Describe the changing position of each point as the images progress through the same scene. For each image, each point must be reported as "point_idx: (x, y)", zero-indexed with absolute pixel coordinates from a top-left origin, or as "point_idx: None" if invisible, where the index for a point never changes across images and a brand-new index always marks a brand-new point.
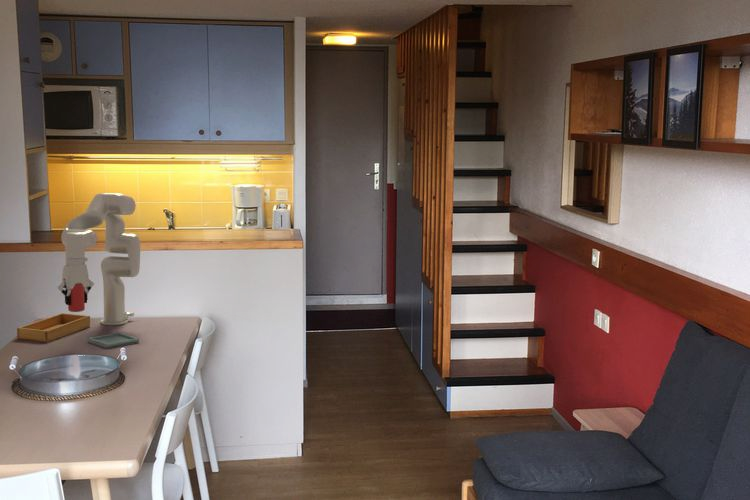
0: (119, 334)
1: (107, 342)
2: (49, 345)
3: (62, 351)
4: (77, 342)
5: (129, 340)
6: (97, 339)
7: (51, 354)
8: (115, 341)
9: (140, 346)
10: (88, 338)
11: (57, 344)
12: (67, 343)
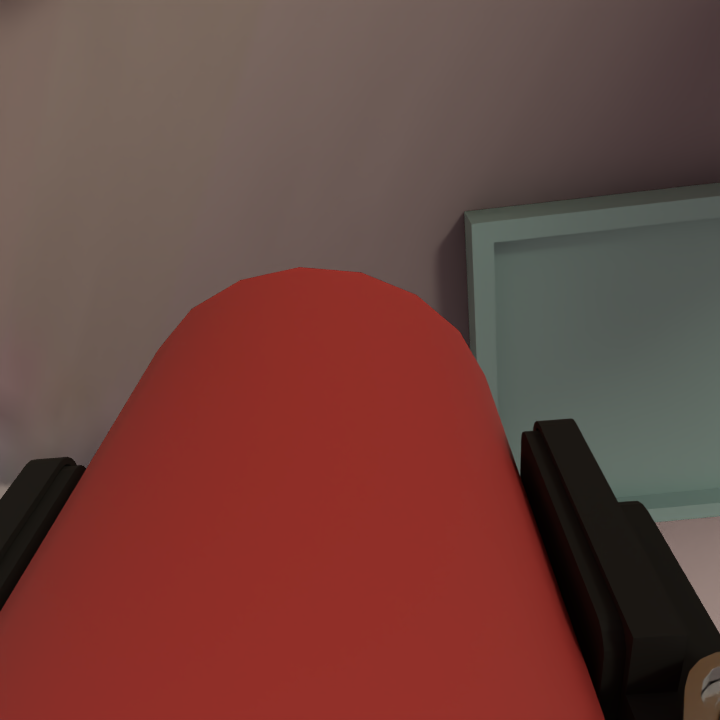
0: None
1: (563, 402)
2: (59, 89)
3: (124, 391)
4: (370, 147)
5: (710, 514)
6: (563, 237)
7: (14, 428)
8: (641, 409)
9: (706, 580)
10: (470, 230)
11: (151, 99)
12: (262, 123)
